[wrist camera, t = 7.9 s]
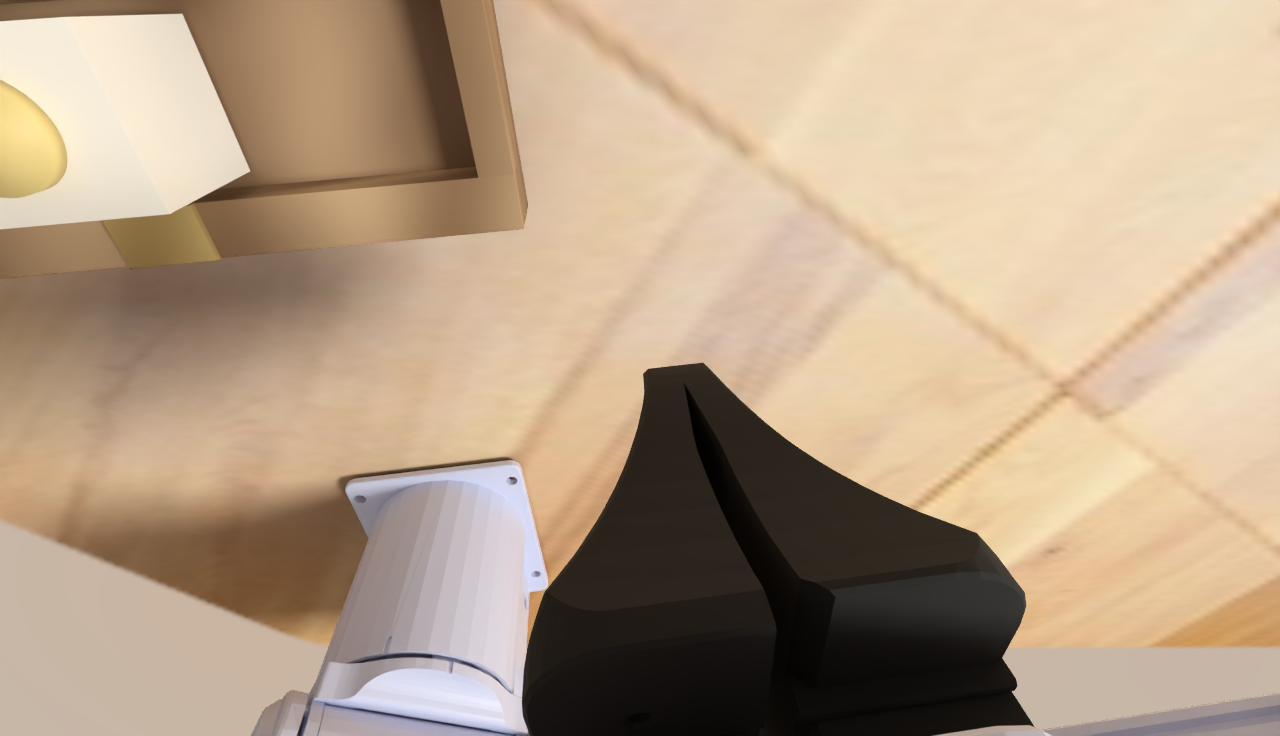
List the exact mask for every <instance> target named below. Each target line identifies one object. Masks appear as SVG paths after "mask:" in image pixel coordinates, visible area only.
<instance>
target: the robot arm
mask: <svg viewBox="0 0 1280 736" xmlns="http://www.w3.org/2000/svg"><path fill="white" fill-rule="evenodd" d="M643 377H644V391H645V392H644V400H643V407H642V411H641V416H640V420H639V425H638V428H637V432H636V435H635V438H634V441H633V444H632V447H631V450H630V453H629V456H628V459H627V461H626V464H625V466H624V469H623V471H622V473H621V476H620V478H619V480H618V482H617V484H616V487H615V489H614V491H613V492H612V494H611V496H610V498H609V500H608V502H607V504H606V506H605V508H604V510H603V511H602V513H601V515H600V517H599V518H598V520H597V522H596V523H595V525H594V526H593V528H592V529H591V531H590V532H589V534H588V535H587V537H586V538H585V540H584V541H583V543H582V544H581V546H580V547H579V549H578V550H577V552H576V553H575V555H574V556H573V557H572V559H571V560H570V561H569V562H568V564H567V565H566V566H565V567H564V569H563V570H562V571H561V572H560V574H559V575H558V576H557V577H556V579H555V580H554V581H553V582H552V584H551V585H550V586H549V587H548V589H547V590H546V591H545V593H544V595H543V598H542V601H541V604H540V607H539V610H538V613H537V616H536V619H535V622H534V626H533V629H532V632H531V636H530V640H529V644H528V648H527V654H526V646H527V629H528V613H529V597H530V592H535V591H541V590H544V589H546V588H547V586H548V577H547V572H546V568H545V564H544V560H543V556H542V552H541V548H540V543H539V539H538V535H537V531H536V527H535V523H534V518H533V514H532V510H531V506H530V502H529V498H528V494H527V489H526V485H525V481H524V477H523V473H522V469H521V466H520V464H519V463H518V462H516V461H513V460H506V461H498V462H489V463H481V464H473V465H464V466H456V467H447V468H439V469H431V470H422V471H414V472H405V473H397V474H389V475H380V476H372V477H363V478H355V479H352V480H350V481H349V482H348V484H347V486H346V488H345V492H346V494H347V496H348V498H349V500H350V502H351V504H352V506H353V508H354V510H355V512H356V514H357V516H358V518H359V520H360V522H361V524H362V527H363V529H364V531H365V533H366V535H367V537H368V542H367V544H366V547H365V550H364V553H363V555H362V558H361V561H360V563H359V566H358V569H357V572H356V574H355V577H354V580H353V582H352V585H351V588H350V590H349V593H348V596H347V599H346V601H345V604H344V607H343V609H342V612H341V615H340V618H339V620H338V623H337V626H336V628H335V631H334V634H333V636H332V639H331V642H330V645H329V647H328V650H327V653H326V655H325V658H324V661H323V664H322V666H321V669H320V672H319V675H318V677H317V680H316V682H315V684H314V686H313V688H312V689H311V691H310V693H309V695H308V693H304V692H299V691H295V690H292V691H289V692H288V693H286V695H285V696H284V698H283V699H282V700H278V701H276V702H275V703H273V704H271V705H270V706H268V707H266V708H265V709H264V711H263V712H262V714H261V716H260V718H259V720H258V722H257V724H256V726H255V728H254V730H253V732H252V734H251V736H1280V693H1274V694H1268V695H1262V696H1255V697H1249V698H1242V699H1236V700H1230V701H1223V702H1217V703H1211V704H1204V705H1198V706H1191V707H1185V708H1179V709H1173V710H1165V711H1160V712H1153V713H1147V714H1140V715H1133V716H1127V717H1121V718H1114V719H1108V720H1101V721H1095V722H1089V723H1082V724H1076V725H1070V726H1063V727H1057V728H1050V729H1044V730H1040V729H1037V728H1035V727H1034V725H1033V724H1032V722H1031V721H1030V719H1029V718H1028V716H1027V715H1026V713H1025V712H1024V710H1023V709H1022V707H1021V705H1020V704H1019V702H1018V701H1017V699H1016V698H1015V696H1014V695H1013V693H1012V691H1014V690H1015V689H1016V687H1017V682H1016V678H1015V677H1014V675H1013V674H1012V672H1011V671H1010V669H1009V668H1008V667H1007V665H1006V664H1005V662H1004V660H1003V659H1002V657H1003V655H1004V653H1005V651H1006V649H1007V648H1008V646H1009V644H1010V642H1011V640H1012V638H1013V637H1014V635H1015V633H1016V631H1017V629H1018V627H1019V626H1020V623H1021V620H1022V617H1023V615H1024V612H1025V608H1026V600H1025V592H1024V591H1023V590H1022V588H1021V587H1020V586H1019V585H1018V583H1017V582H1016V581H1015V579H1014V578H1013V577H1012V576H1011V574H1010V573H1009V571H1008V570H1007V569H1006V567H1005V566H1004V565H1003V563H1002V562H1001V561H1000V559H999V558H998V557H997V555H996V554H995V553H994V552H993V551H992V550H991V549H990V547H989V546H988V545H987V544H986V543H985V542H984V541H983V540H982V538H981V537H980V536H979V535H978V534H977V533H975V532H972V531H969V530H967V529H964V528H961V527H958V526H956V525H953V524H950V523H948V522H945V521H942V520H940V519H937V518H934V517H931V516H929V515H926V514H923V513H921V512H918V511H916V510H913V509H911V508H909V507H907V506H904V505H902V504H900V503H898V502H895V501H893V500H891V499H889V498H886V497H884V496H882V495H880V494H878V493H876V492H874V491H872V490H870V489H868V488H866V487H864V486H862V485H860V484H858V483H856V482H854V481H852V480H851V479H849V478H847V477H845V476H843V475H841V474H840V473H838V472H836V471H834V470H832V469H831V468H829V467H827V466H826V465H824V464H822V463H821V462H819V461H818V460H816V459H815V458H813V457H811V456H810V455H808V454H807V453H805V452H804V451H802V450H801V449H799V448H798V447H796V446H795V445H793V444H792V443H791V442H789V441H788V440H787V439H785V438H784V437H783V436H781V435H780V434H779V433H778V432H776V431H775V430H774V429H773V428H771V427H770V426H769V425H768V424H767V423H765V422H764V421H763V420H762V419H761V418H759V417H758V416H757V415H756V414H755V413H754V412H753V411H752V410H751V409H750V408H748V407H747V406H746V405H745V404H744V403H743V402H742V401H741V400H740V399H739V398H738V397H737V396H736V395H735V394H734V393H733V392H732V391H730V390H729V389H728V388H727V387H726V386H725V384H724V383H723V382H722V381H721V380H720V379H719V378H718V377H717V376H716V375H715V374H714V373H713V372H712V371H711V370H710V369H709V368H708V367H707V366H706V365H705V364H704V363H697V364H688V365H679V366H670V367H661V368H652V369H648V370H647V371H646V372H645V373H644V374H643ZM509 477H515V479H510V478H509ZM358 495H361V496H364V497H360V496H358Z"/></svg>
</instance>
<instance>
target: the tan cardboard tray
mask: <svg viewBox="0 0 1280 736" xmlns="http://www.w3.org/2000/svg"><path fill="white" fill-rule="evenodd" d="M155 14H183V16H184V19H185V21H186V23H187V26H188V28H189V30H190V33H191V35H192V37H193V40H194V42H195V44H196V46H197V49H198V51H199V53H200V56H201V58H202V60H203V63H204V65H205V67H206V70H207V72H208V74H209V76H210V79H211V81H212V83H213V86H214V88H215V90H216V93H217V95H218V97H219V100H220V102H221V104H222V107H223V109H224V111H225V113H226V116H227V118H228V120H229V123H230V125H231V127H232V130H233V132H234V134H235V137H236V139H237V141H238V144H239V146H240V148H241V150H242V153H243V155H244V157H245V160H246V162H247V164H248V167H249V169H250V172H248V173H246V174H244V175H242V176H241V177H239V178H237V179H235V180H233V181H231V182H229V183H227V184H225V185H224V186H222V187H220V188H218V189H216V190H214V191H212V192H210V193H209V194H207V195H205V196H203V197H201V198H199V199H197V200H195V201H193V202H192V203H190V204H188V205H186V206H184V207H182V208H180V209H178V210H177V211H175V212H173V213H171V214H166V215H155V216H143V217H132V218H121V219H110V220H99V221H88V222H77V223H66V224H55V225H44V226H33V227H21V228H10V229H0V279H3V278H13V277H24V276H34V275H45V274H55V273H66V272H76V271H87V270H97V269H108V268H118V267H129V266H130V268H131V269H132V268H143V267H153V266H164V265H174V264H185V263H195V262H206V261H216V260H219V259H220V258H224V257H234V256H245V255H255V254H266V253H276V252H287V251H297V250H308V249H318V248H329V247H339V246H350V245H360V244H371V243H381V242H392V241H402V240H413V239H423V238H434V237H444V236H455V235H466V234H476V233H487V232H497V231H508V230H518V229H524V224H525V218H526V213H527V208H528V202H527V196H526V190H525V185H524V179H523V173H522V167H521V161H520V155H519V150H518V144H517V138H516V132H515V126H514V120H513V115H512V109H511V103H510V97H509V91H508V85H507V80H506V74H505V68H504V62H503V56H502V50H501V45H500V39H499V33H498V27H497V21H496V15H495V10H494V4H493V0H0V21H13V20H28V19H42V18H57V17H81V16H118V15H155Z"/></svg>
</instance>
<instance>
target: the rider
mask: <svg viewBox="0 0 1280 736" xmlns="http://www.w3.org/2000/svg"><path fill="white" fill-rule="evenodd" d="M248 172H250V169H249V167H248V164H247V162H246V160H245V157H244V155H243V153H242V150H241V148H240V146H239V144H238V141H237V139H236V137H235V134H234V132H233V130H232V127H231V125H230V123H229V120H228V118H227V116H226V113H225V111H224V109H223V107H222V104H221V102H220V100H219V97H218V95H217V93H216V90H215V88H214V86H213V83H212V81H211V79H210V76H209V74H208V72H207V70H206V67H205V65H204V63H203V60H202V58H201V56H200V53H199V51H198V49H197V46H196V44H195V42H194V40H193V37H192V35H191V33H190V30H189V28H188V26H187V23H186V21H185V19H184V16H183V14H155V15H118V16H81V17H57V18H42V19H28V20H13V21H0V229H10V228H21V227H33V226H44V225H55V224H66V223H77V222H88V221H99V220H110V219H121V218H132V217H143V216H155V215H166V214H171V213H173V212H175V211H177V210H178V209H180V208H182V207H184V206H186V205H188V204H190V203H192V202H193V201H195V200H197V199H199V198H201V197H203V196H205V195H207V194H209V193H210V192H212V191H214V190H216V189H218V188H220V187H222V186H224V185H225V184H227V183H229V182H231V181H233V180H235V179H237V178H239V177H241V176H242V175H244V174H246V173H248Z"/></svg>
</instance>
